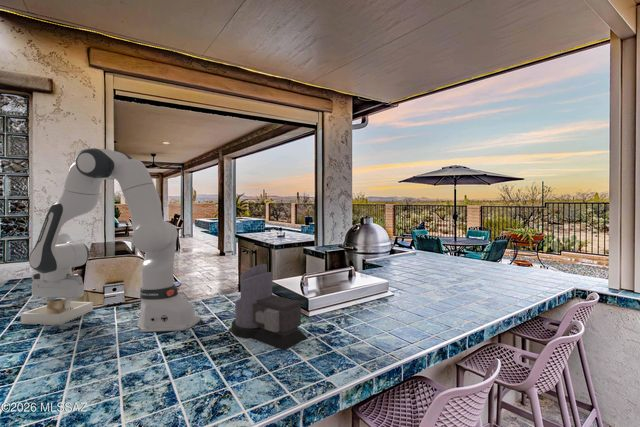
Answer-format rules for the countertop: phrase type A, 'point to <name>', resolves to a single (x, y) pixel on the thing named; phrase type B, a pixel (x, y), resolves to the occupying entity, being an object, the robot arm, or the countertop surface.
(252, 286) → the juicer
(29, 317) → the tray
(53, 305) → the block
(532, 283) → the countertop surface
